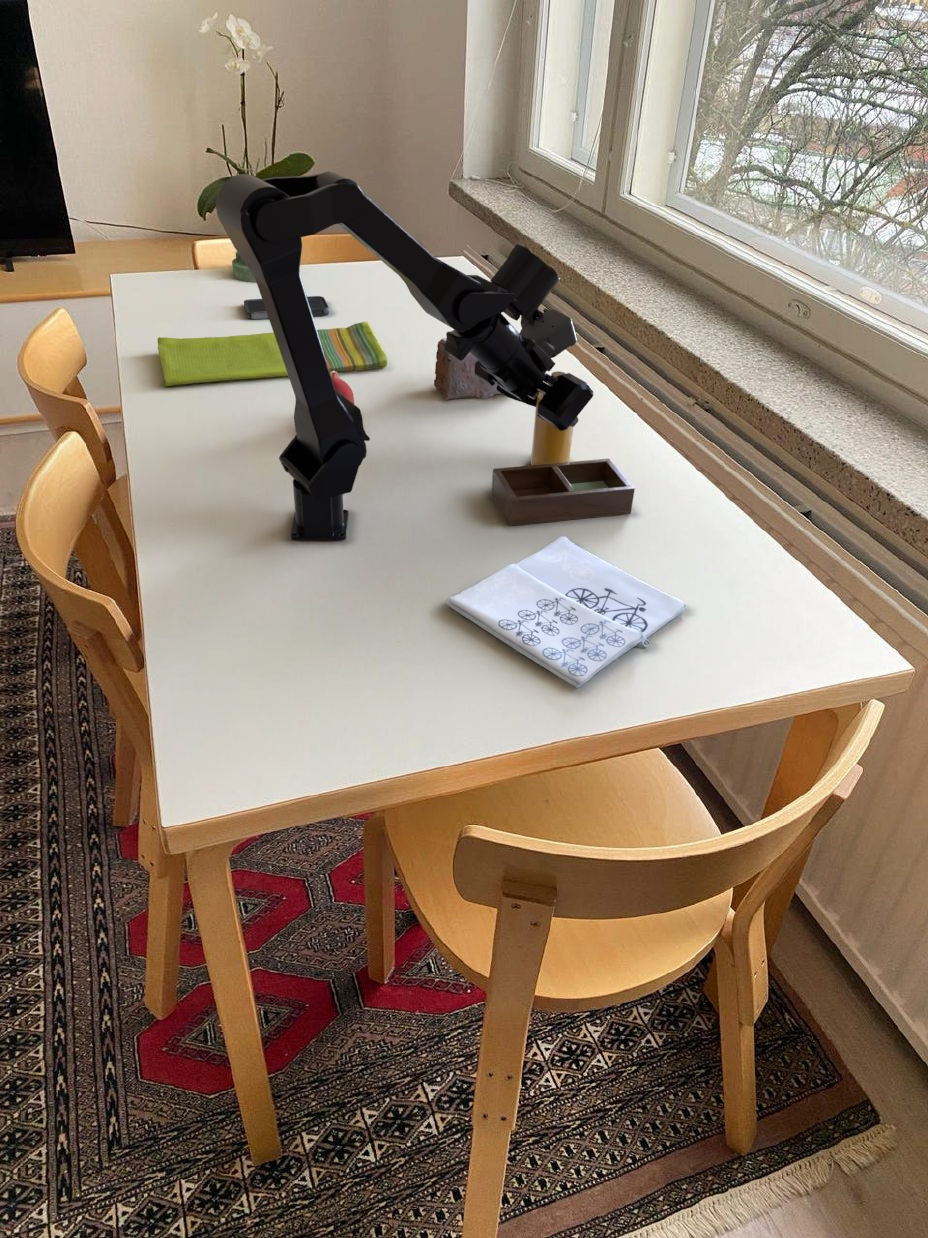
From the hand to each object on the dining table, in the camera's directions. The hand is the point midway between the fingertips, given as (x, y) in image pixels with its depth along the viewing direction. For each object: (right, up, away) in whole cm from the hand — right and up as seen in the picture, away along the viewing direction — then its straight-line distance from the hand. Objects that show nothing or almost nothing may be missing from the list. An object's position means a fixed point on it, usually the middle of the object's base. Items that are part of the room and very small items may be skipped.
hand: (563, 415), depth 124 cm
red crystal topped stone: (-11, +9, +23) cm, 27 cm away
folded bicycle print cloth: (-2, -26, -24) cm, 36 cm away
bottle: (-1, -6, +4) cm, 7 cm away
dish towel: (-45, +15, +30) cm, 56 cm away
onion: (-32, +1, +11) cm, 34 cm away
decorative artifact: (-56, +44, +67) cm, 97 cm away
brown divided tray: (-1, -12, -5) cm, 13 cm away
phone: (-46, +30, +50) cm, 75 cm away
